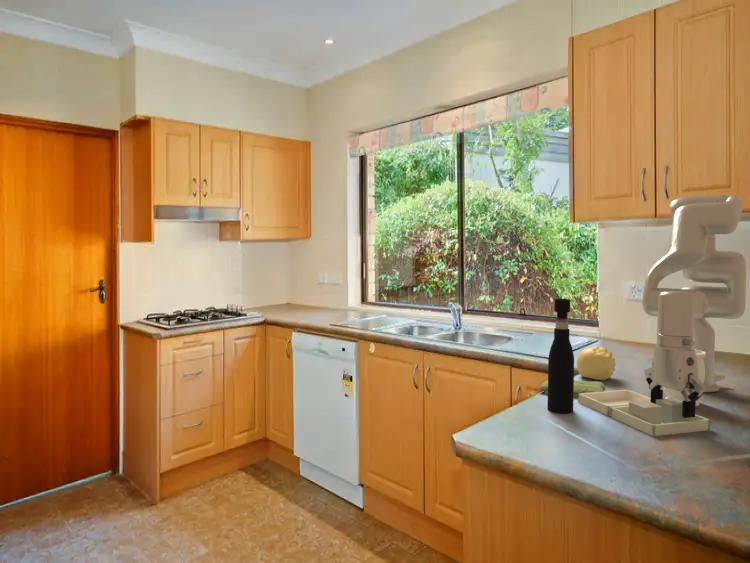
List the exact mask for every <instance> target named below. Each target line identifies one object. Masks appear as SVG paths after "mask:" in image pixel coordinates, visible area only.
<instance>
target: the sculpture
mask: <svg viewBox="0 0 750 563" xmlns="http://www.w3.org/2000/svg"><path fill="white" fill-rule="evenodd" d="M615 359H616V358H615V356H613V352H612V351H609V350H608V349H607V348H606V347H601V346H597V345H594V346H593V347H587V348H585V349H582V351H580V352H579V354H578V355H577V358H576V369H577V371H578V372H577V373H578V374H579V375H580V376H581V377H583V378H587V379H592V380H596V381H606V380H607V379H610V378H611V377H612V376H613V374H614V372H615V371H616V368H615V367H616V360H615Z"/></svg>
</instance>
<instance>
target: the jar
mask: <svg viewBox="0 0 750 563" xmlns="http://www.w3.org/2000/svg"><path fill="white" fill-rule="evenodd" d="M693 350H695V349H693ZM695 353H696V357H697V364H698V380H699V381H701V382H702V383H703V384H704V380H705V365H704V360H703V358H704V357H705V356H706V353H705V352H704V351H700V350H695ZM662 388H663V389H662V390H663V393H664V394H665V395H666V397H665V398H664V399H668V398H674V399H677V400H680V401H682V402H683V401H685V399H684V397H683V395H682V393H681V392H680V391H677V390H673V389H670V388H667V387H664V386H663V387H662ZM694 391H695V390H694ZM687 393H688V394H689V392H687ZM689 395H690V394H689ZM697 406H700V402H699V400H698V401H696V405H695V407H697Z"/></svg>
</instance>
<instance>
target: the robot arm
mask: <svg viewBox="0 0 750 563" xmlns="http://www.w3.org/2000/svg"><path fill="white" fill-rule="evenodd" d="M742 205H743V204H742V201H741V198H740V197H739V196H738V195H736V194H714V195H696V196H695V195H694V196H693V195H692V196H685V197H679V198H675V199H674V200H672V201H671V202H670V204H669V213H670V218H671V219H672V224H671V232H670V240H669V246H668V252H667V254H665V255H664V256H663V257H662V258H660V259H659V260H658V261H657V262H656V263H655V264H654V265H653V266H652V267H651V269H650V270H649V271H648V273H647V275H646V278H645V282H644V286H643V294H642V309H643V311H644V313H645V314H647V316H651V317H657V323H656V324H657V325H656V326H657V328H656V344H655V346H654V349H653V350H654V351H653V354H652V362H651V367H649V368H646V369H644V371H643V372H644V375H645V378H646V379H645V381H646V382H647V384H648V389H649V390H650V398H651V399H650V402H651V403H654V404H656V400H657V399H664V389H662V388H663V386H664V387H667V388H670V389H673V390H677V391H680V392H681V393H682V395H683V397H684V399H685V401H683V402H682V417H684V418H691V417H695V414H696V406H695V405H696V401H698V402H699V399H700V398H702V397H703V393H714V392H718V391H719V390H720V385H718V384H717V383H716V382H717V381H719V382H720V381H725V380H726V376H725V374H722V373H721V374H716V373H714V371H715V346H716V345H715V344H716V343H715V342H716V333H715V329H714V328H713V326H712V324H710V322H708V320H707V319H710V318H711V319H724V320H725V319H727V320H737V319H740V318H742V317H743V315H744V314H745V312H746V311H745V310H746V302H747V301H746V297H747V295H746V293H747V292H746V291H747V287H746V286H747V265H746V264H747V263H746V260H745V256H744V255H743V254H742V253H741V252H739V251H733V250H724V251H723V250H717V249H716V238H717V237H716V235H728V234H732V233H734V232H735V231H736V230H737V227H738V225H739V222H740V220H741V217H742V213H743V206H742ZM680 271H682V276H683V278H684V279H685V280H686V281H688V282H692V283H703V284H704V283H705V284H706V283H708V284H710V283H711V284H724V285H725V286H711V285H688V286H683V287H682V288H674V287H673V288H671V287H668V288H667V287H665V288H664V287H658V286H659V284H660V283H661V282H662V281H663V279H665V278H666V277H668V276H670V275H672V274H674V273H676V272H677V273H678V272H680ZM706 318H707V319H706ZM693 349H695V350H700V351H704V352H705V353H706V356H705V357H704V358H703V360H704V365H705V380H704V384H703V383H702V382H701V381H699V380H698V364H697V357H696V353H695V350H693ZM694 390H695V391H694ZM687 392H689V394H690V395H689V394H688V393H687Z"/></svg>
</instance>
